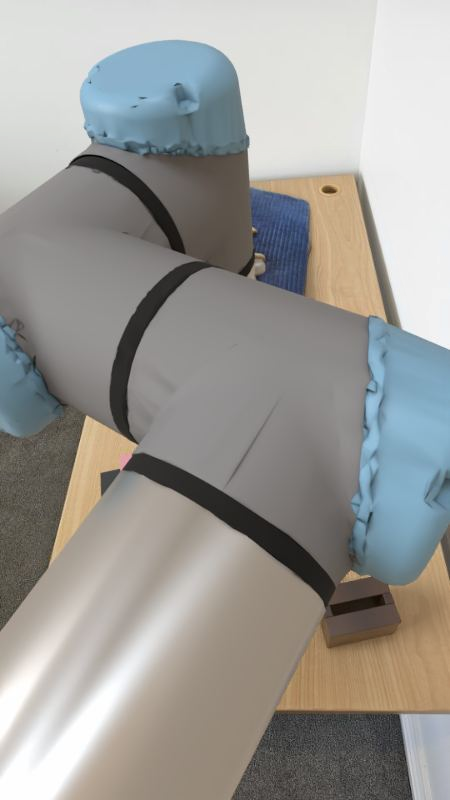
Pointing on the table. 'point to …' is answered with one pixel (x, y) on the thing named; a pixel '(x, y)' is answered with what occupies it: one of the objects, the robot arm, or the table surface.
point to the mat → (281, 238)
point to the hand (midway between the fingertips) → (238, 468)
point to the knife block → (359, 612)
